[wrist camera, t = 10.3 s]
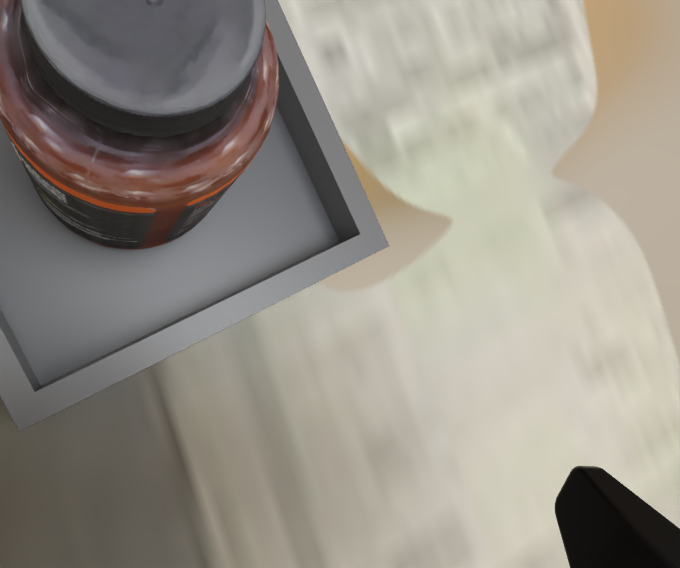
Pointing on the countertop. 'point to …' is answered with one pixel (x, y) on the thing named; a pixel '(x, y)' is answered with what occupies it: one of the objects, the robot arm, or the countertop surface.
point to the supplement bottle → (135, 108)
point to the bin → (175, 258)
